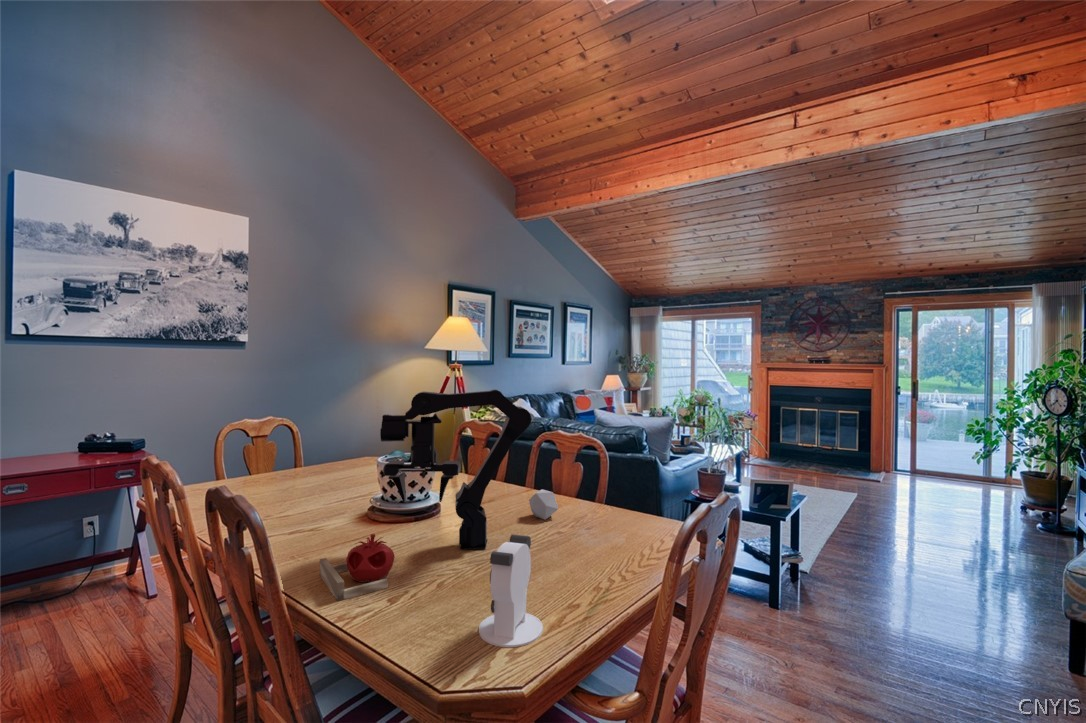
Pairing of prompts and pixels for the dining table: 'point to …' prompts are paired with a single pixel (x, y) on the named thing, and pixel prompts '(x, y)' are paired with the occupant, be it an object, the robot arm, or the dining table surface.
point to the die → (543, 504)
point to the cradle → (337, 583)
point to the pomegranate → (370, 560)
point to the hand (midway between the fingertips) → (422, 501)
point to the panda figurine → (510, 597)
